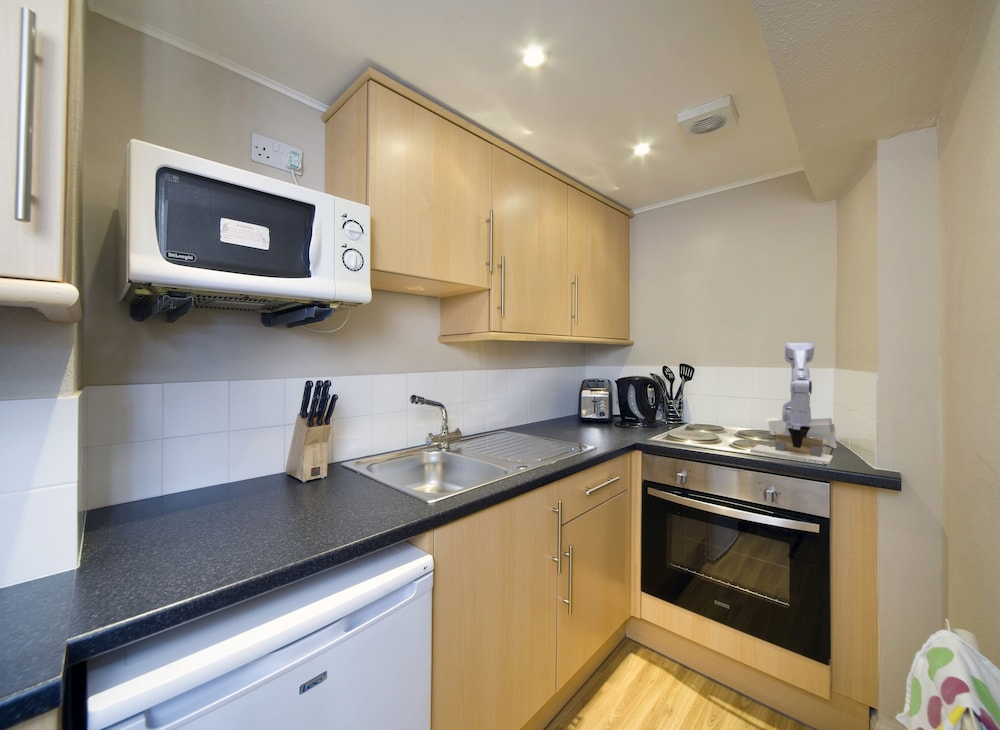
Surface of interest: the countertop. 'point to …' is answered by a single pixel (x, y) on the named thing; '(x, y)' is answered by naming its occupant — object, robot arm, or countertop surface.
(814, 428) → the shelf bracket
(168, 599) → the countertop surface
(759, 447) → the board
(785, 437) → the door panel
